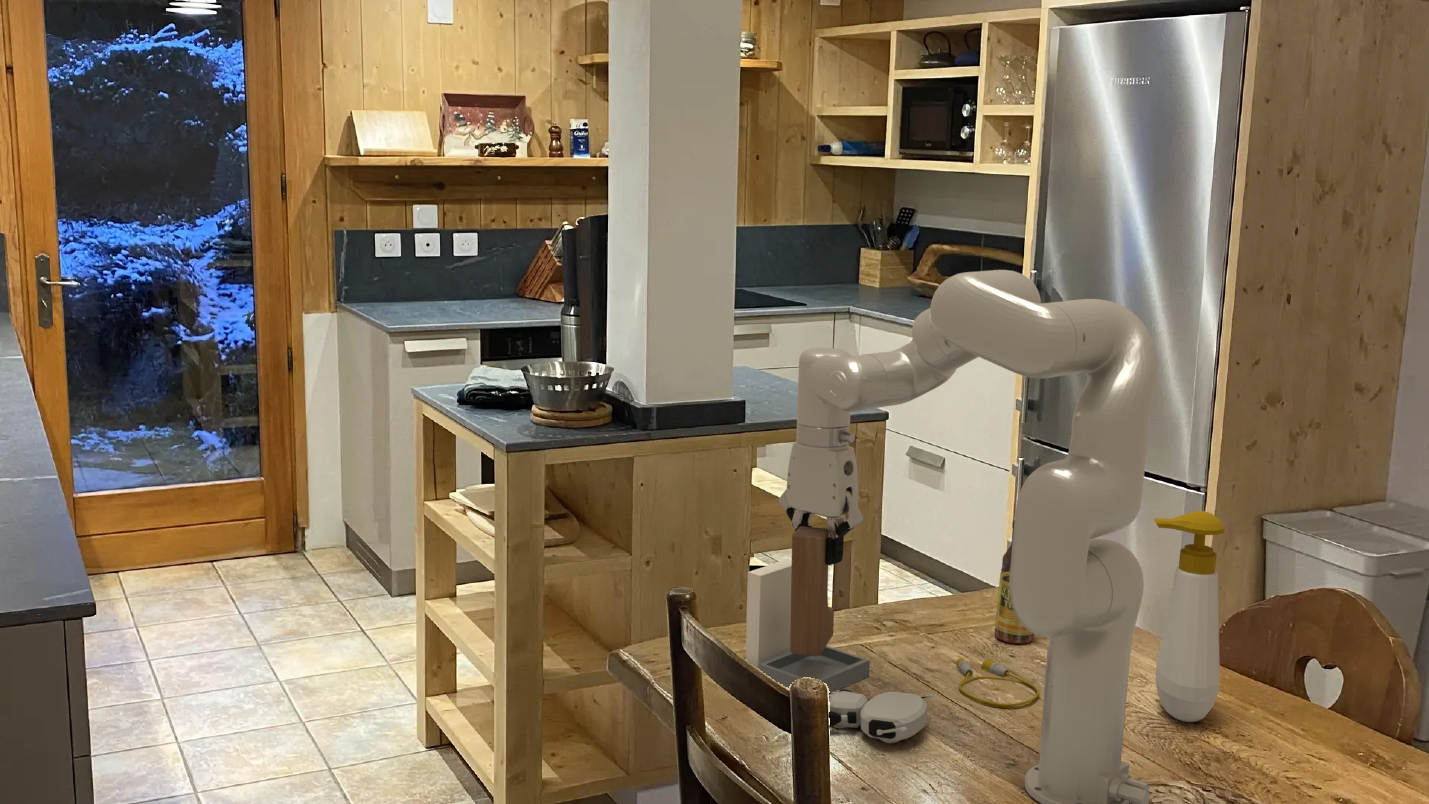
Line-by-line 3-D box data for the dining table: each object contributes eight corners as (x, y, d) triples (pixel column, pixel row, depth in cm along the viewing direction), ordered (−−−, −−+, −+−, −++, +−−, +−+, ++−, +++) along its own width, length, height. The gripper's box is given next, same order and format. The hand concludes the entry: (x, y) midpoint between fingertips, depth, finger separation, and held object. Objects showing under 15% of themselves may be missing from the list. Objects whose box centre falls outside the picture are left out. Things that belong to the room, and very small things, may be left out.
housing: (869, 676, 198) (873, 578, 196) (813, 700, 189) (817, 599, 186) (786, 647, 209) (789, 555, 206) (730, 669, 200) (732, 573, 197)
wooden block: (804, 632, 202) (806, 516, 198) (833, 635, 200) (836, 519, 197) (789, 654, 193) (791, 533, 190) (819, 657, 192) (822, 536, 188)
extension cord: (1037, 674, 202) (1038, 661, 202) (1040, 716, 187) (1041, 702, 186) (955, 666, 204) (956, 653, 204) (951, 706, 189) (952, 693, 189)
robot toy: (802, 742, 178) (911, 757, 172) (800, 709, 178) (910, 724, 171) (834, 708, 189) (938, 722, 183) (833, 678, 188) (937, 690, 182)
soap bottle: (1132, 691, 195) (1148, 497, 190) (1207, 697, 193) (1225, 501, 188) (1143, 727, 182) (1160, 520, 177) (1223, 735, 181) (1243, 526, 175)
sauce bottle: (992, 643, 213) (999, 522, 209) (996, 630, 219) (1003, 512, 215) (1034, 648, 211) (1042, 526, 207) (1037, 634, 217) (1045, 516, 213)
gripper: (887, 441, 188) (881, 566, 191) (793, 422, 199) (789, 541, 202) (854, 449, 182) (849, 577, 186) (760, 429, 193) (756, 551, 197)
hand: (818, 557), depth 194 cm, fingers closed on wooden block, 5 cm apart
